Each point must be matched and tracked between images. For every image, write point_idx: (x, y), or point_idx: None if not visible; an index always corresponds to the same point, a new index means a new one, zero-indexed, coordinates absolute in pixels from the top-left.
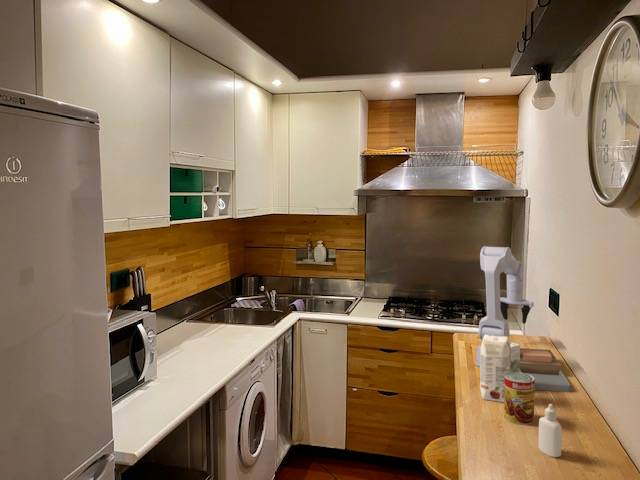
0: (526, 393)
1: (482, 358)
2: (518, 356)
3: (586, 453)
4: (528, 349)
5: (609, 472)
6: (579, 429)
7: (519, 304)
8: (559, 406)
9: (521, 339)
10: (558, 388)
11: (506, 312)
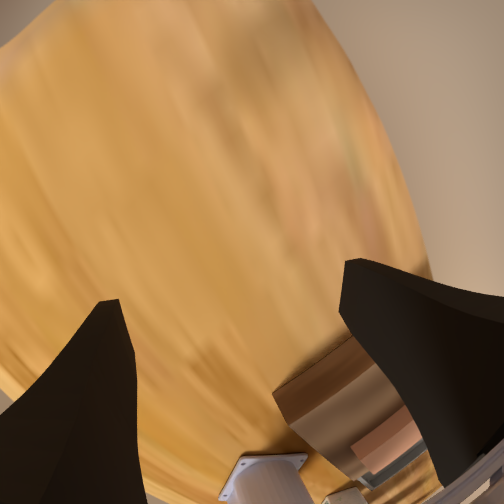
0: None
1: None
2: None
3: (425, 493)
4: (358, 386)
5: (434, 491)
6: (427, 479)
7: (456, 501)
8: (414, 470)
9: (155, 30)
10: (420, 447)
11: (109, 390)
